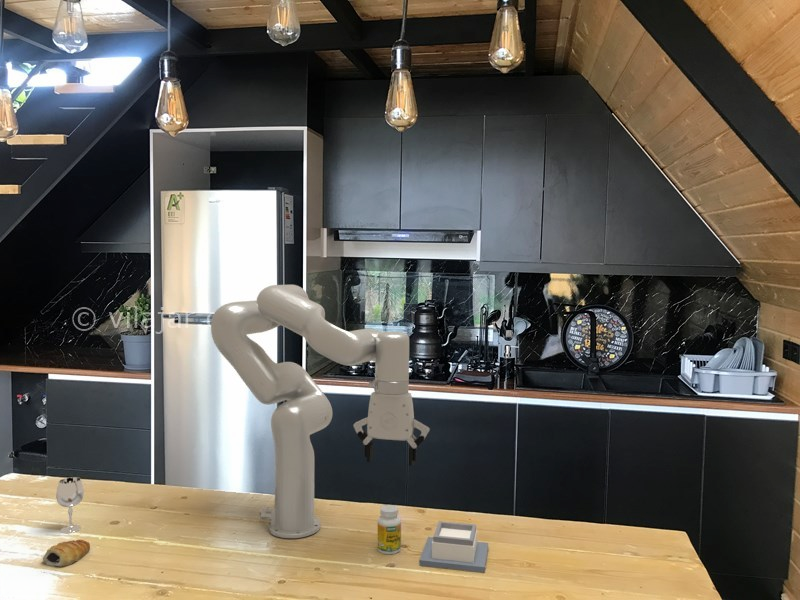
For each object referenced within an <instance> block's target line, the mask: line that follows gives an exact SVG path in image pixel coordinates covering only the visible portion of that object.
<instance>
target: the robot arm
mask: <svg viewBox="0 0 800 600" xmlns="http://www.w3.org/2000/svg"><path fill="white" fill-rule="evenodd" d="M325 311H326V310H325V308H324V307H323V306H322V305H321V304H319V303H318V302H315V301H313V300H311V299H310V298H309V295H308V293H307V292H306V290H305V289H304V288H302V287H301V286H299V285H297V284H273V285H269V286H266V287H264V288H263V289H262V290H261V291H260V292H259V293H258V295H257V297H256V300H246V301H244V300H243V301H233V302H229V303H225V304H223V305H221V306H220V307H218V308H217V309H216V310H215V311H214V314H213V315H212V317H211V323H210V333H211V337H212V340H213V343H214V345H215V347H216V348H217V350H218V352H219V353H220V354H221V355H222V356H223V358H225V360H226V361H227V362H228V363H229V364H230V365H231V366H232V367H233V369H234V370H235V371H236V373H237V375H238V376H239V378H240V379H241V380H242V382H244V384H245V386H246V387H247V388H248V389H249V391H250V392H251V393H252V394H253V396H254V397H255V398H256V399H257V401H258V402H260V403H261V404H263V405H275V404H278V403H280V405H278V406H277V407H276V408H275V409H274V410H273V413H272V415H271V419H270V428H271V434H272V438H273V445H274V446H273V447H274V507H273V508H270V507H266V506H265V507H264V506H261V508H260V509H259V515H260V519H262V520H264V519H265V520H267V519H268V520H269V523H268V525H267V529H268V532H269V533H270V534H271V535H273V536H275V537H278V538H281V539H299V538H305V537H309V536H312V535H313V534H315V533H317V532H318V531H319V530H321V525H322V524H321V520H320V519H319V518H318V517H317V516H315V450H314V447H313V444H312V442H311V438H310V435H312V434H315V433H317V432H319V431H320V432H321V430H323V429H325V428H327V426H329V425H330V423H331V422H332V419H333V408H332V405H331V403H330V400H329V399H328V397H327V396H326V395H325V393H324V392H323V390H321V388H320V387H319V386H318V385H317V383H316V382H315V380H313V378H312V377H311V376H310V374H309V373H308V372H307V371H306V369H305V368H304V367H302V366H301V365H300V364H298V363H295V362H293V361H283V362H280V363H279V362H278V363H277V362H274V360H273V359H272V358H271V357H270V356H269V355H268V353H267V352H266V351H265V349H264V348H263V347H262V346H261V345H259V343H257V342H256V341H255V340H253V339H251V338H250V337H249V335H252V334H259V333H265V332H268V331H270V330H273V329H275V328H278V327H280V326H282V327H285V328H286V329H288V330H290V331H292V332H293V333H296V334H297V335H299V336H301V337H303V338H304V339H305V342H306V343H307V344H308V346H310V347H311V348H312V350H314V351H315V352H316V353H318V354H319V355H321V356H323V357H325V358H327V359H329V360H331V361H332V362H335V363H337V364H340V365H343V366H349V367H350V366H356V365H359V364H363V363H368V362H372V361H375V365H374V366H375V369H374V372H375V374H374V376H375V378H374V379H373V380H369V382H368V388H369V387H370V388H372V389H373V390H374V391H373V392H371V394H370V398H369V404H368V412H367V417H365V418H362V419H360V420H359V421H358V420H357V421H355V423H354V424H353V429H354V431H355V432H356V435H357V437H358V438H359V439H360V440H361V442H362V443H363V445H364V458H366V463H370V462H371V463H372V460H374V442H373V441H372V440H373V439H378V440H386V441H387V440H388V441H389V440H392V441H407V443H408V444H409V448H408V466H409V467H413V465H414V463H415V462H417V460H418V459H417V458H418V446H419V445H421V444H422V443H423V442H424V441H425V439H426V437H427V435H428V434H429V432H430V429H431V428H430V427H429V426H427V425H425V424H423V423H422V422H421V421H418V420H417V419H415V416H414V415H415V412H414V402H413V397H412V393H411V392H409V388H410V387H409V386H410V385H409V384H410V383H409V381H410V380H409V377H410V337H409V336H408V334H407V333H405V332H399V331H382V330H378V329H373V328H363V329H362V328H361V329H357V330H356V329H355V330H349V331H348V330H345V329H343V328H341V327H338V326H337V325H334V324H333V323H331V322H329V321H327V320H326V312H325ZM365 425H366V432H365V431H364V430H363V426H365ZM415 429H417V430H419V431H420V432H421V433H420V435H419V436H418V437H416V436H415V435H414V433H415Z"/></svg>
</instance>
